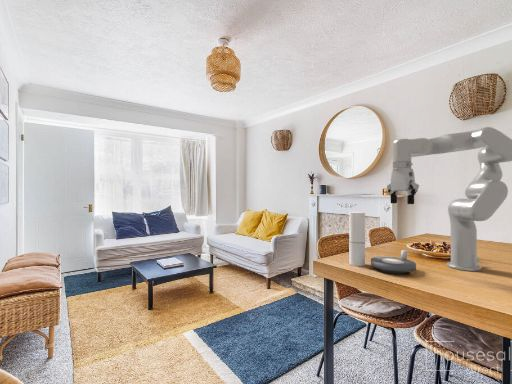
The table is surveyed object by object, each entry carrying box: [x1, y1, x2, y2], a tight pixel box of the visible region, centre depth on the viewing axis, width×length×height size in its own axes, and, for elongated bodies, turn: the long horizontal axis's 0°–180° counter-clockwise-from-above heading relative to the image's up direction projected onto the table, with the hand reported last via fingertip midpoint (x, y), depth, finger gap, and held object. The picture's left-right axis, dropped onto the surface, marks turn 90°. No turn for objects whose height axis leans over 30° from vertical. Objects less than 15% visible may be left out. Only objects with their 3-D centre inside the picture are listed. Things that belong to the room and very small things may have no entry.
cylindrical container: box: [348, 211, 366, 267], centre depth 130 cm, size 7×7×25 cm
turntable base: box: [377, 268, 409, 275], centre depth 120 cm, size 12×12×2 cm
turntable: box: [370, 249, 417, 273], centre depth 120 cm, size 18×18×6 cm
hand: (401, 203), depth 124 cm, fingers open, 9 cm apart
